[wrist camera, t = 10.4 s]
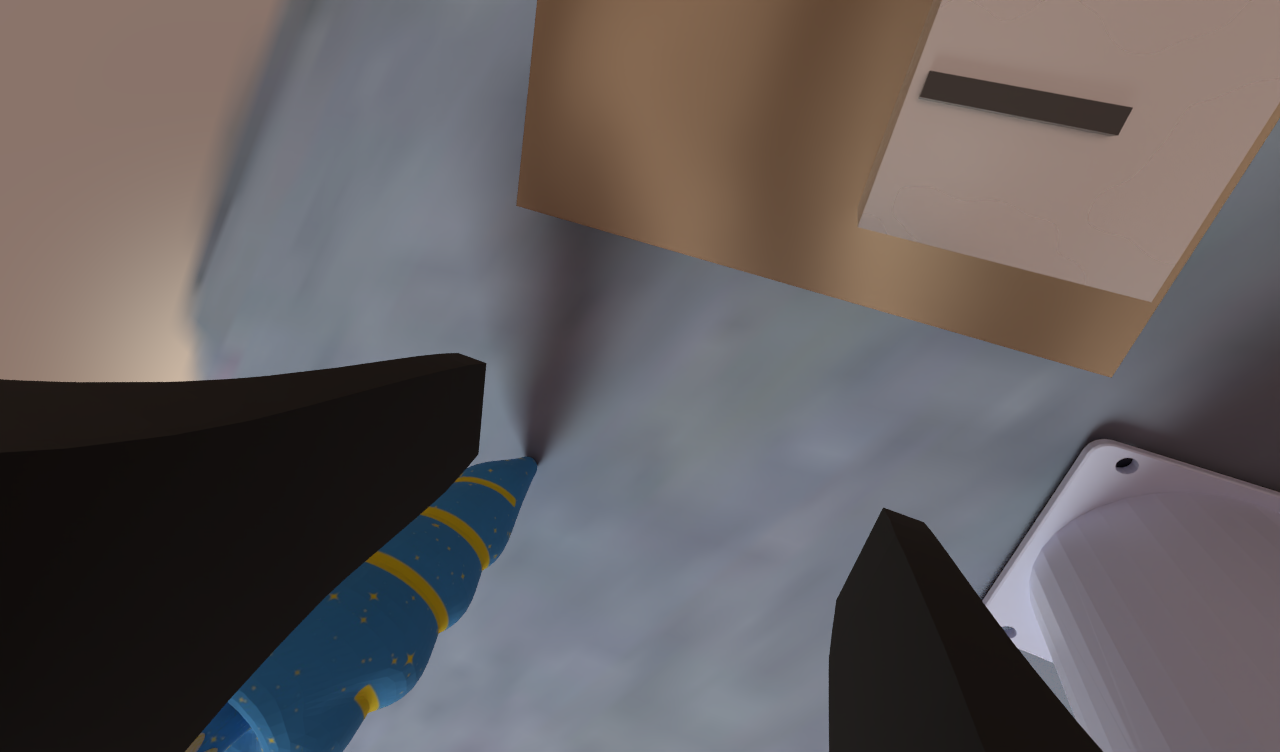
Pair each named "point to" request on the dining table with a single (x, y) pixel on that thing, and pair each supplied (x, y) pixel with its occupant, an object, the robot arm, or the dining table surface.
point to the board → (780, 161)
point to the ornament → (375, 623)
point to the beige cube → (1074, 131)
